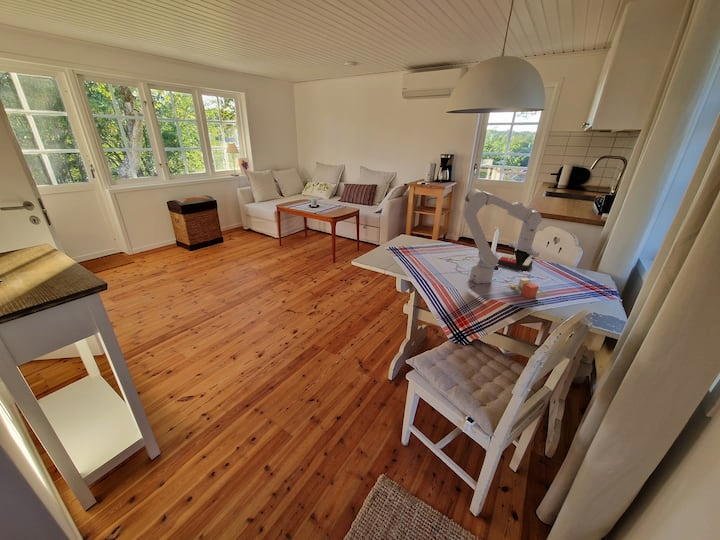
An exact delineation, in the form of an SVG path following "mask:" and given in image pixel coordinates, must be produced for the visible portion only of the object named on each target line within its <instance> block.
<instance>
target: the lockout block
mask: <svg viewBox="0 0 720 540" xmlns="http://www.w3.org/2000/svg"><path fill="white" fill-rule="evenodd" d="M539 287H540V286H538V285H536V284H535V283H533V282H531V281H530V283H524V284H523V288H522V291H521V294H522V295H523V296H525V297H527V298H532V299H534V298H533V297H536V294H537V291H538V289H539ZM523 296H522V297H523Z"/></svg>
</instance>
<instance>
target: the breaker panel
mask: <svg viewBox="0 0 720 540" xmlns="http://www.w3.org/2000/svg"><path fill="white" fill-rule="evenodd" d="M505 287H506V288H508V289H509V290H511V291H513V292H514V293H515V294H517V295H519V296H522V297H523V298H524V299H526V300H530V299H531V300H532V299H538V298H542V297H547V296H550V295H549V294H548V293H546V292H544V291H542V290H540V289H539V288H538V291H537V294H536V297H533V298H527V297H525V296H523V295H522V294H521V291H522V288H523V287H520V286H519V285H518V284H514V285H512V284H511V285H507V286H505Z"/></svg>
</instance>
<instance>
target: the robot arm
mask: <svg viewBox="0 0 720 540" xmlns="http://www.w3.org/2000/svg"><path fill="white" fill-rule="evenodd" d="M463 205H464V206H463V211H462V215H463V217H464V220H465V223H466V224H467V227H468V229H469V232H470V234H471V236H472V238H473V241H474V243H475V245H476V248H477V251H478V259H479V261H478V262H477V264H476V265H475V266H474V265H473V266H472V268H471V270H470V275H469V278H468V281H471V280H472V282H474V283H476V284H484V283H485V284H487V283H489V284H490V283H491V282H492V280H493V277H494V271H495V267H496V266H498V265H497V263H498V260H499V258H498V256H497V255H495V253H494V252H493V251H492V247H490V245H489V243H488V240H487V237H486V235H485V233H484V230H483V228H482V225H481V224H480V221H479V219H478V217H477V214H478V212H479V211H480V210H481V209H482V208H483V207H484V206H485V205H486V206H490V205H493V206H497V207H500V208H501V209H504V210H506V211H507V214H508V215H510V217H513V218H515V219H518V220H519V221H523V222H522V225H521V228H520V232H519V237H518V240H517V242H514V241H511V242H509V243H508V244H509V245H508V247H510V248H514V249H515V250H514V251H513V254H514V255H515V257H516V266H518V267H522V265H523V263H524V262H525V260H526V259H529V257H530V256H532V257H533V258H538V257H539V255H540V252H539V251H537V250H535V249H534V248H533V243H534V240H535V237H536V233H537V228H538V226H539V225H540V224H541V223H542V222H543V219H542V217H543V216H542V214H541V213H540V212H539V211H537V210H535V209H533V207H528V206H526V205H524V203H522V202H521V201H519V202H517V201H515V202H512V203H511V202H509V201H508V200H505V199H503V198H501V197H499V196H497V195H496V194H493V193H491V192H488V191H484V190H481V189H478V188H472V189H470V190H469V191H468V192H467V193H466V195H465V197H464V204H463Z"/></svg>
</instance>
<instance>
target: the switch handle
mask: <svg viewBox="0 0 720 540" xmlns="http://www.w3.org/2000/svg"><path fill="white" fill-rule="evenodd" d="M530 282H531V279H530V278H528V277H523V278H522V277H521V278H519V281H518V284H517V285H519V286H520V287H523V284H524V283H530Z"/></svg>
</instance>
